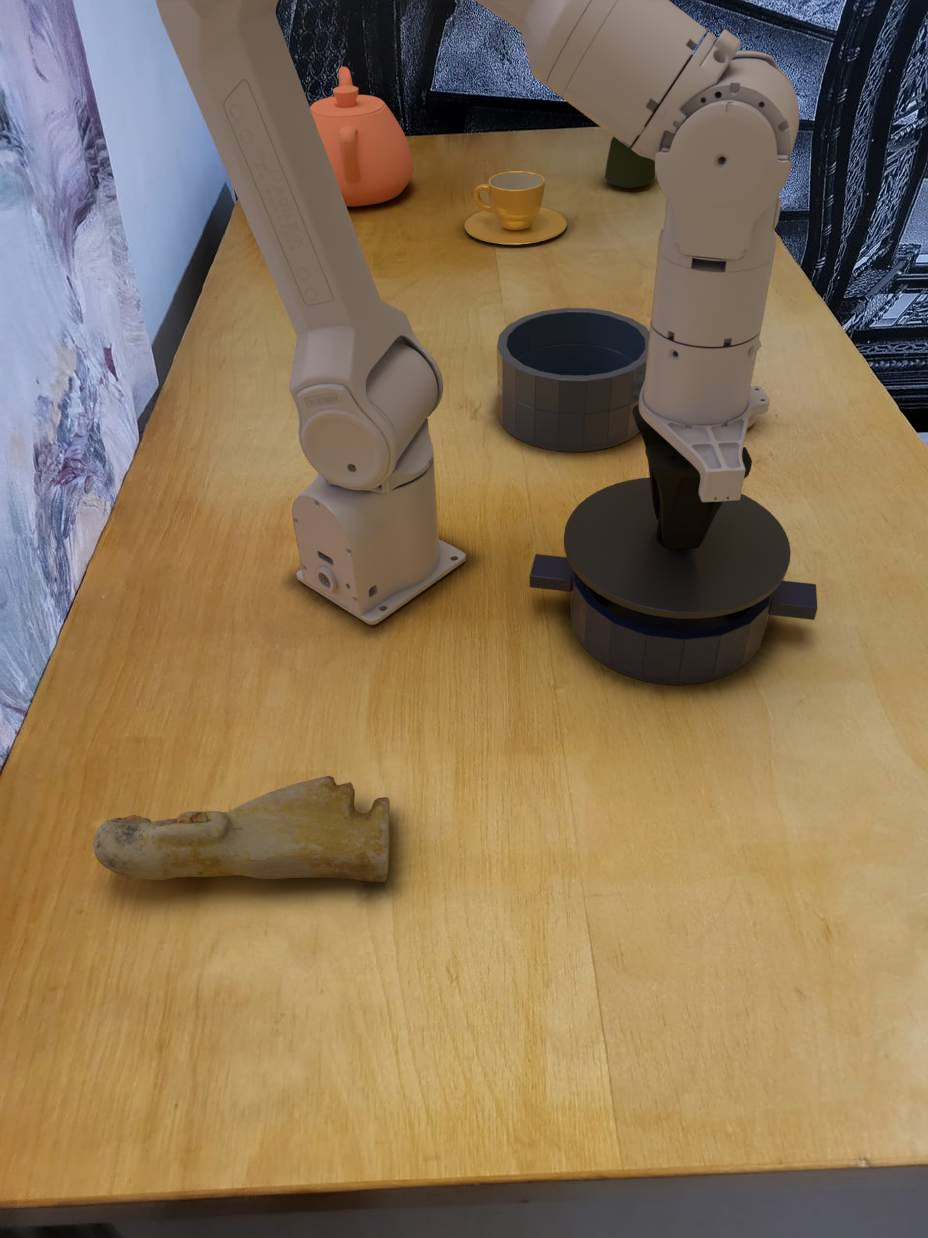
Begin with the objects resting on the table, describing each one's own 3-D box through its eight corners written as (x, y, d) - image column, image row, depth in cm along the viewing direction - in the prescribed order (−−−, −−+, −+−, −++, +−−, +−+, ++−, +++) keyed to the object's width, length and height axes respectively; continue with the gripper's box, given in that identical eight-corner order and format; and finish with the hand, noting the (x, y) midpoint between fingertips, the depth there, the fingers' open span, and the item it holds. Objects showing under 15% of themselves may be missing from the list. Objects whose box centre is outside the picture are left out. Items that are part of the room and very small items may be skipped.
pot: (586, 470, 80) (591, 397, 76) (467, 417, 86) (465, 347, 82) (677, 406, 87) (685, 335, 82) (560, 361, 93) (562, 294, 89)
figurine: (389, 763, 55) (104, 762, 53) (395, 810, 50) (79, 810, 48) (385, 848, 56) (107, 850, 54) (390, 902, 51) (84, 906, 49)
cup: (574, 211, 121) (576, 165, 118) (556, 250, 113) (558, 201, 109) (478, 206, 124) (476, 160, 120) (453, 244, 115) (451, 195, 112)
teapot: (300, 166, 137) (286, 66, 129) (410, 159, 138) (403, 59, 130) (294, 225, 121) (278, 115, 113) (419, 217, 122) (412, 107, 113)
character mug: (672, 174, 130) (683, 62, 121) (673, 194, 125) (685, 78, 116) (587, 174, 131) (592, 63, 122) (585, 193, 126) (590, 78, 117)
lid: (789, 640, 57) (805, 577, 54) (547, 611, 59) (549, 549, 56) (785, 500, 67) (799, 441, 64) (578, 480, 69) (581, 422, 66)
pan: (810, 703, 60) (823, 656, 58) (515, 665, 64) (515, 619, 61) (804, 572, 69) (815, 527, 67) (546, 545, 73) (547, 500, 70)
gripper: (824, 387, 47) (773, 604, 57) (746, 263, 58) (714, 462, 67) (675, 395, 47) (648, 611, 56) (624, 269, 58) (609, 468, 67)
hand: (676, 531), depth 62 cm, fingers closed on lid, 2 cm apart
